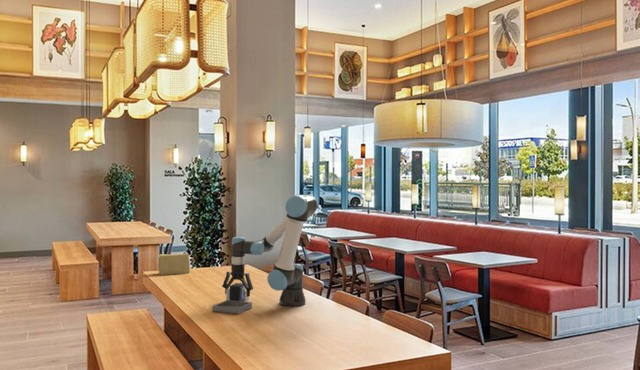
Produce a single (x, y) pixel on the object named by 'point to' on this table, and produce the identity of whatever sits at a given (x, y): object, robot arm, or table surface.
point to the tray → (232, 307)
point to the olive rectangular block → (174, 264)
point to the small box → (237, 292)
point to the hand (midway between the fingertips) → (237, 301)
